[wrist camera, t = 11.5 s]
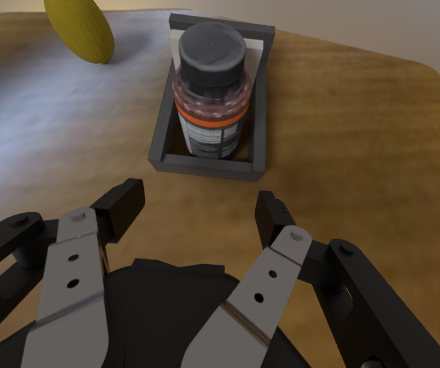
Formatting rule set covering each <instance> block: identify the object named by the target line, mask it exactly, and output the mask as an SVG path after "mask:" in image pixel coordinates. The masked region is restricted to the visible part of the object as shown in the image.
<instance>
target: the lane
mask: <svg viewBox="0 0 440 368" xmlns="http://www.w3.org/2000/svg"><path fill="white" fill-rule="evenodd" d="M203 22H217V23H221V24H225V25H227V26H230V27H232V28H234V29H235V30H236V31H238V32H239V33H240V34H241V36H242V37H243V38H247V39H255V40H263V52H262V55H261V59H260V62H259V66H258V70H257V73H256V77H255V80H254V84H253V88H252V92H251V100H250V122H249V144H248V163H246V162H237V161H228V160H218V159H209V158H200V157H190V156H181V155H172V154H171V153H172V148H173V143H174V138H175V133H176V128H177V123H178V118H179V115H178V111H177V107H176V103H175V99H174V95H173V89H172V82H173V76H174V74H175V72H176V70H175V65H174V60H173V58H172V62H171V66H170V70H169V74H168V79H167V83H166V87H165V91H164V95H163V99H162V103H161V107H160V111H159V115H158V119H157V123H156V127H155V131H154V135H153V139H152V143H151V147H150V151H149V155H148V160H149V162H150V163H151V164H152V165H153V167H154V168H155V169H156V171H162V172H171V173H181V174H190V175H200V176H209V177H219V178H228V179H238V180H247V181H258V180H259V179H260V178H261V176H262V175H263V174H264V173H265V164H266V61H267V58H268V55H269V52H270V49H271V45H272V42H273V39H274V36H275V27H274V26H267V25H259V24H252V23H244V22H236V21H228V20H220V19H212V18H204V17H196V16H189V15H181V14H173V13H171V15H170V18H169V24H170V29H175V30H183V31H185V30H186V29H188V28H189V27H191V26H193V25H196V24H198V23H203Z"/></svg>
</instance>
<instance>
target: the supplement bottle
mask: <svg viewBox="0 0 440 368" xmlns="http://www.w3.org/2000/svg"><path fill="white" fill-rule="evenodd" d="M179 55H180V63H181V64H180V66H179V67H178V69H177V70H176V72H175V74H174V76H173V82H172V89H173V95H174V99H175V103H176V107H177V111H178V115H179V118H180V122H181V126H182V130H183V133H184V137H185V140H186V145H187V147H188V150H189V152H190V154H191V155H192V157H200V158H209V159H218V160H229V159H230V158H231V157H232V156H233V155H234V153H235V151H236V148H237V145H238V142H239V138H240V135H241V131H242V127H243V124H244V120H245V117H246V113H247V110H248V106H249V102H250V98H251V92H252V85H251V79H250V76H249V74H248V72H247V70H246V69H245V68H244V61H245V55H246V44H245V41H244V39H243V37H242V36H241V34H240V33H239V32H238V31H236V30H235V29H234V28H232V27H230V26H227V25H225V24H221V23H217V22H203V23H198V24H196V25H193V26H191V27H189V28H188V29H186V30H185V32H184V33H183V34H182V35H181V37H180V39H179Z"/></svg>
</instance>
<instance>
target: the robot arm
mask: <svg viewBox="0 0 440 368" xmlns="http://www.w3.org/2000/svg"><path fill="white" fill-rule="evenodd" d="M144 205H145V194H144V186H143V181H142V179H135V178H129V179H127V180H126V181H125V182H124V183H123V184H120V185H118V186H116V187H113V188H112V189H111V190H109V191H108V192H107V193H106V194H104V195H103V197H101V198H99V199H98V200H97V201H96V202H95V203H93V204H92V205H91V206H90V207H83V208H77V209H74V210H71V211H68V212H66V213H65V214H63V215H62V216H61V217H60V219H54V220H45V221H43V219H42V217H41V215H40V214H39V213H37V212H26V213H21V214H17V215H14V216H11V217H8V218H6V219H4V220H2V221H1V222H0V262H1V261H2V260H3V259H4V258H6V257H7V256H8V255H10V254H11V253H12V254H13V256H14V257H15V259H16V260H17V262H16V263H15V264H13V265H12V266H11V267H10V268H9V269H7V270H6V271H5V272H4V273H3V274H1V275H0V323H1V322H2V321H3V320H4V319H5V318H6V317H7V316H8V315H9V314H10V313H11V312H12V310H13V309H14V308H15V307H16V306H17V305H18V304H19V303H20V302H21V301H22V300H23V299H24V298H25V297H26V296H27V294H28V293H29V292H30V291H31V290H32V289H33V288H34V287H35V286H36V285H37V284H38V283H39V282H40V281H41V279H42V278H43V283H42V288H41V294H40V300H39V306H38V312H37V318H36V320H34V321H33V322H31V323H30V324H28V325H26V326H25V327H23V328H22V329H20V330H19V331H17V332H16V333H14V334H12V335H11V336H9V337H8V338H6V339H5V340H3V341H2V342H0V368H311V367H310V365H309V364H308V363H307V362H306V360H305V359H304V358H303V357H302V355H301V354H300V353H299V352H298V350H297V349H296V348H295V347H294V345H293V344H292V343H291V342H290V340H289V339H288V338H287V337H286V335H285V334H284V333H283V332H282V330H281V329H280V328H279V327H278V322H279V320H280V317H281V315H282V313H283V310H284V308H285V305H286V303H287V301H288V298H289V296H290V293H291V291H292V289H293V286H294V284H295V281H296V279H299V280H302V281H305V282H307V283H310V284H312V286H313V288H314V291H315V293H316V295H317V298H318V300H319V303H320V305H321V308H322V310H323V312H324V315H325V317H326V320H327V322H328V325H329V327H330V329H331V332H332V334H333V337H334V339H335V341H336V344H337V346H338V349H339V351H340V354H341V356H342V358H343V361H344V363H345V366H346V368H440V346H439V344H438V343H437V342H436V341H435V340H434V338H433V337H432V336H431V335H430V333H429V332H428V331H427V330H426V329H425V327H424V326H423V325H422V324H421V323H420V321H419V320H418V319H417V318H416V317H415V315H414V314H413V313H412V312H411V311H410V309H409V308H408V307H407V306H406V304H405V303H404V302H403V301H402V300H401V298H400V297H399V296H398V295H397V294H396V292H395V291H394V290H393V289H392V288H391V286H390V285H389V284H388V283H387V282H386V280H385V279H384V278H383V277H382V275H381V274H380V273H379V272H378V271H377V269H376V268H375V267H374V266H373V265H372V263H371V262H370V261H369V260H368V259H367V257H366V256H365V255H364V254H363V253H362V251H361V250H360V249H359V248H357V247H356V246H355V245H353V244H352V243H350V242H348V241H345V240H342V239H332V240H331V241H330V243H329V245H327V244H324V243H320V242H317V241H314V240H312V237H311V236H310V234H309V233H308V232H307V231H306V230H304V229H302V228H300V227H298V226H296V224H295V222H294V220H293V219H292V217H291V215H290V214H289V212H288V210H287V208H286V206H285V204H284V203H283V202H281V201H280V200H279V199H275V197H274V195H273V193H272V192H271V191H262V190H260V191H259V195H258V199H257V203H256V208H255V220H256V224H257V228H258V231H259V235H260V239H261V243H262V247H263V252H262V253H261V255H260V256H259V257H258V259H257V260H256V261H255V263H254V264H253V265H252V267H251V268H250V269H249V271H248V272H247V273H246V275H245V276H244V277H243V279H242V280H241V281H239V280H238V279H236V278H235V277H233V276H231V275H229V274H226V273H225V266H224V265H211V264H198V265H191V266H185V267H176V266H173V265H170V264H167V263H165V262H162V261H159V260H150V259H138V258H135V260H134V262H133V264H132V265H131V266H128V267H124V268H120V269H118V270H115V271H113V272H110V268H109V263H108V257H107V251H106V247H105V246H106V245H107V243H116V244H117V243H118V242H119V240H120V239H121V237H122V236H123V235H124V233H125V232H126V231H127V229H128V228H129V227H130V225H131V224H132V222H133V221H134V220H135V218H136V217H137V216H138V214H139V213H140V212H141V210H142V209H143V207H144ZM345 287H346V288H347V289H348V291H349V293H350V294H351V297H352V299H353V300H352V299H351V297H350V295H349V293H348V292H347V290H346V288H345Z"/></svg>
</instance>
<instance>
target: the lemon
mask: <svg viewBox="0 0 440 368" xmlns="http://www.w3.org/2000/svg"><path fill="white" fill-rule="evenodd" d="M44 4H45V10H46V13H47V16H48V18H49V20H50V22H51V24H52V26H53V28H54V29H55V31H56V32H57V34H58V36H59V37H60V38H61V40H62V41H63V42H64V44H65V45H66V46H67V47H68V48H69V49H70V50H71V51H72V52H73V53H75V54H76V55H77V56H78V57H80V58H81V59H83V60H85V61H88V62H91V63H101V64H106V62H107V61H108V60H109V59H110V58H111V57H112V55H113V52H114V38H113V34H112V31H111V29H110V26H109V24H108V22H107V20H106V18H105V17H104V15H103V13H102V12H101V10H100V9H99V7H98V6H97V5H96V3H95V2H94V1H93V0H44Z"/></svg>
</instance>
